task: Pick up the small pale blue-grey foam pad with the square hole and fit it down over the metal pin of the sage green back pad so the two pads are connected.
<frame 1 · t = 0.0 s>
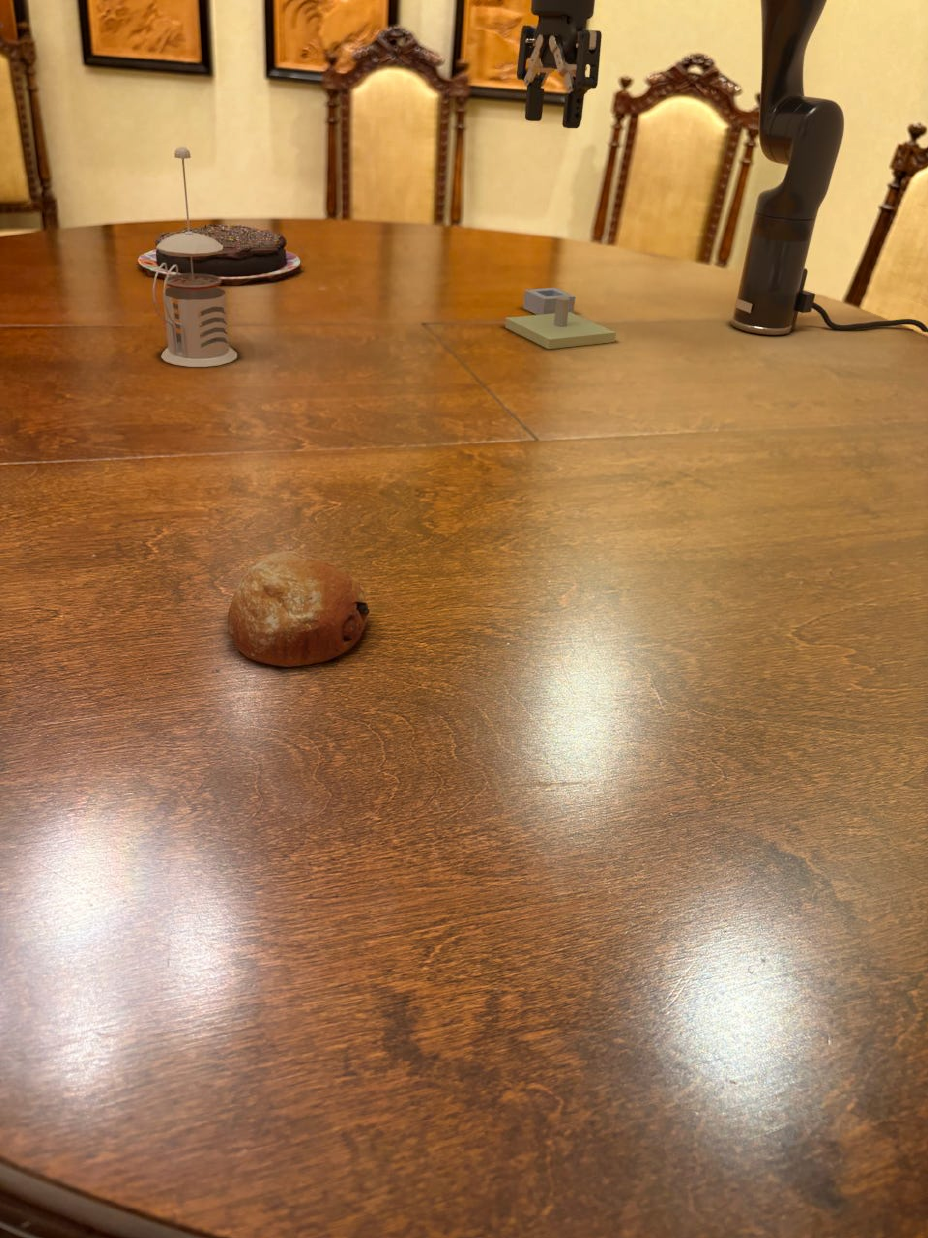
hand: (551, 123, 122), 29 cm above the table, tool pointing down, fingers open, 8 cm apart
french press: (195, 358, 128), on the table
chocolate cake: (221, 268, 172), on the table
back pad: (559, 334, 147), on the table
bread roll: (300, 634, 73), on the table
top pad: (548, 311, 159), on the table
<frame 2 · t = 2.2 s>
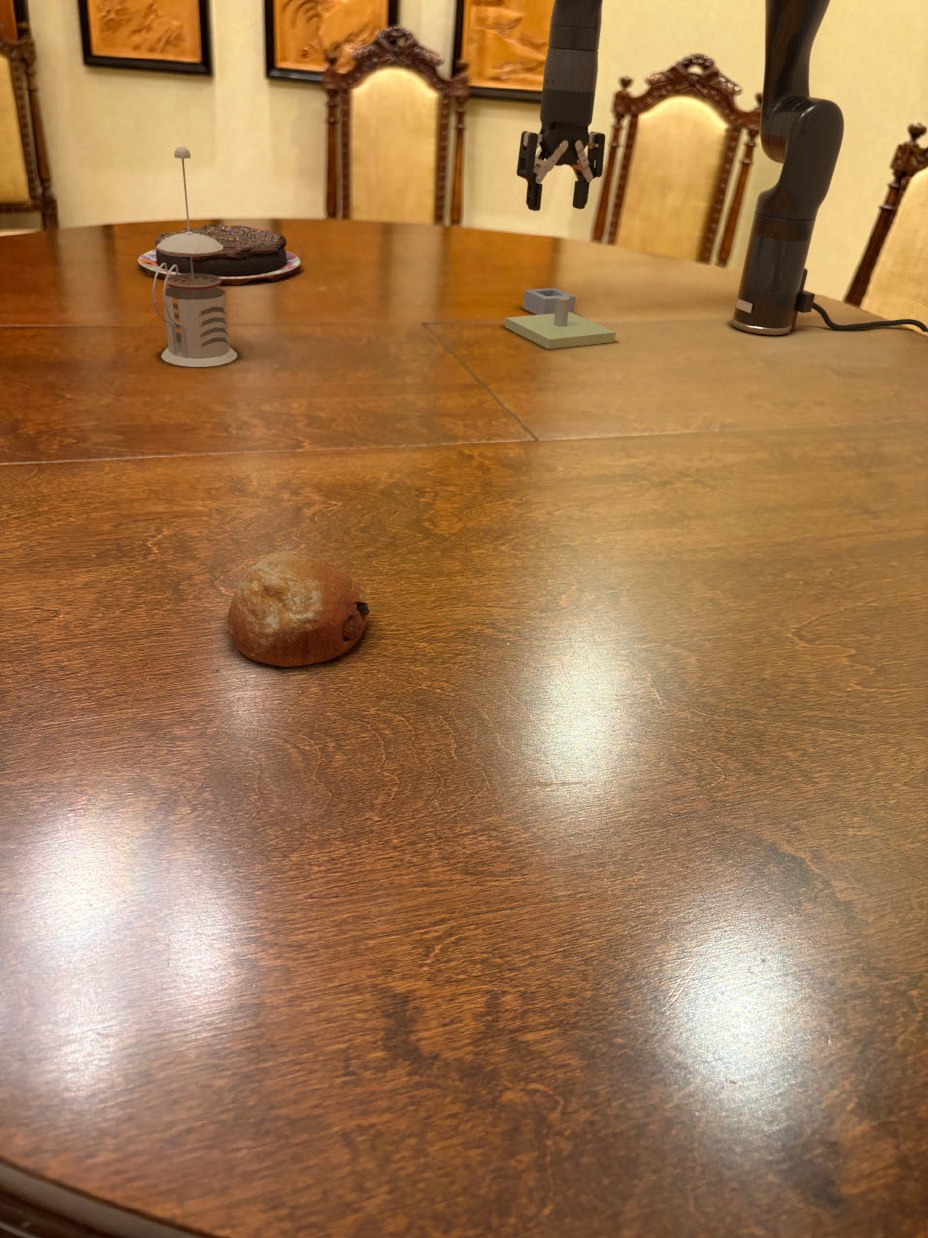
hand: (556, 209, 145), 16 cm above the table, tool pointing down, fingers open, 8 cm apart
nothing on the table moved.
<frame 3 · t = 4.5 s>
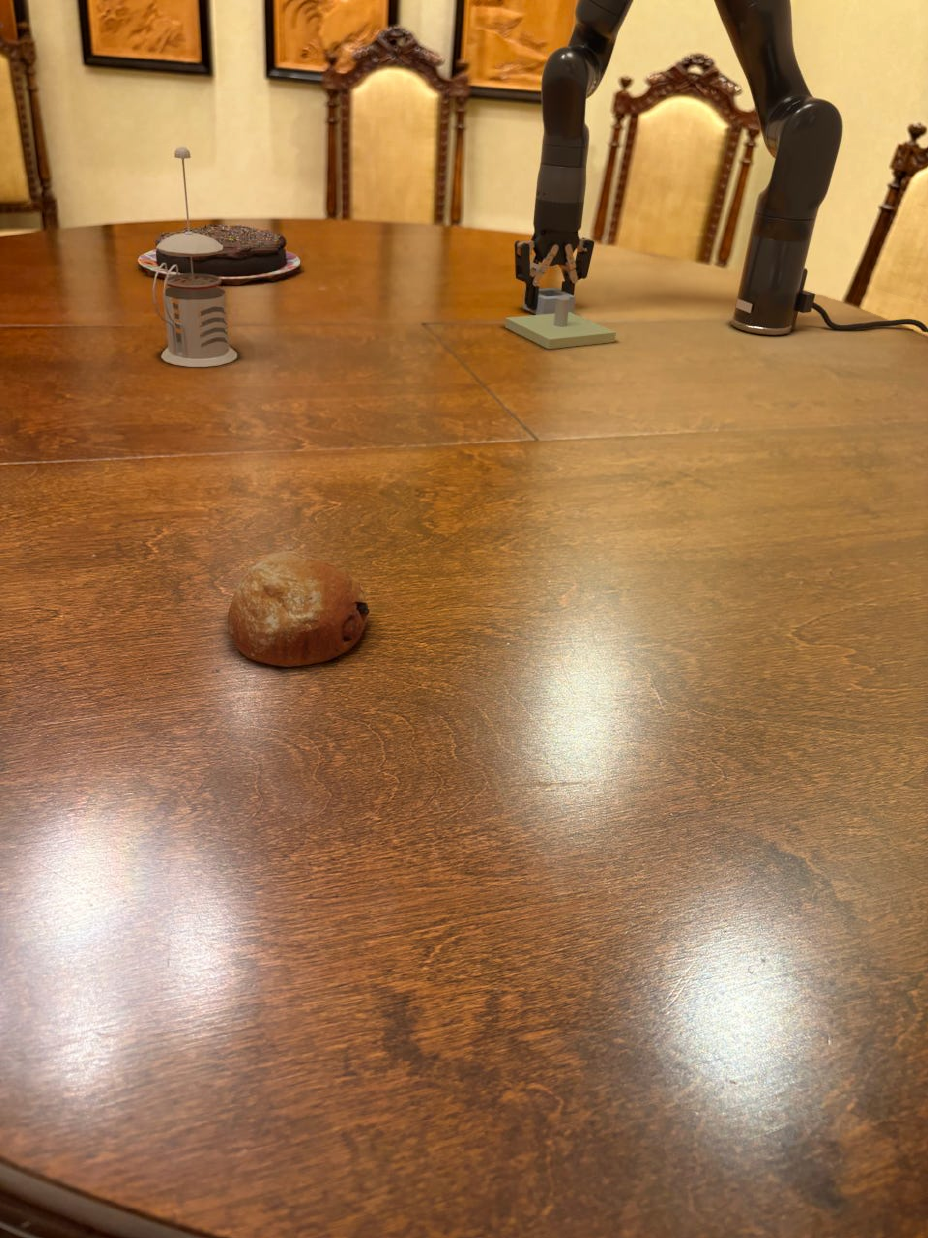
hand: (548, 306, 158), 1 cm above the table, tool pointing down, fingers closed on top pad, 6 cm apart
top pad: (547, 311, 159), on the table, touching gripper
everything else where it was.
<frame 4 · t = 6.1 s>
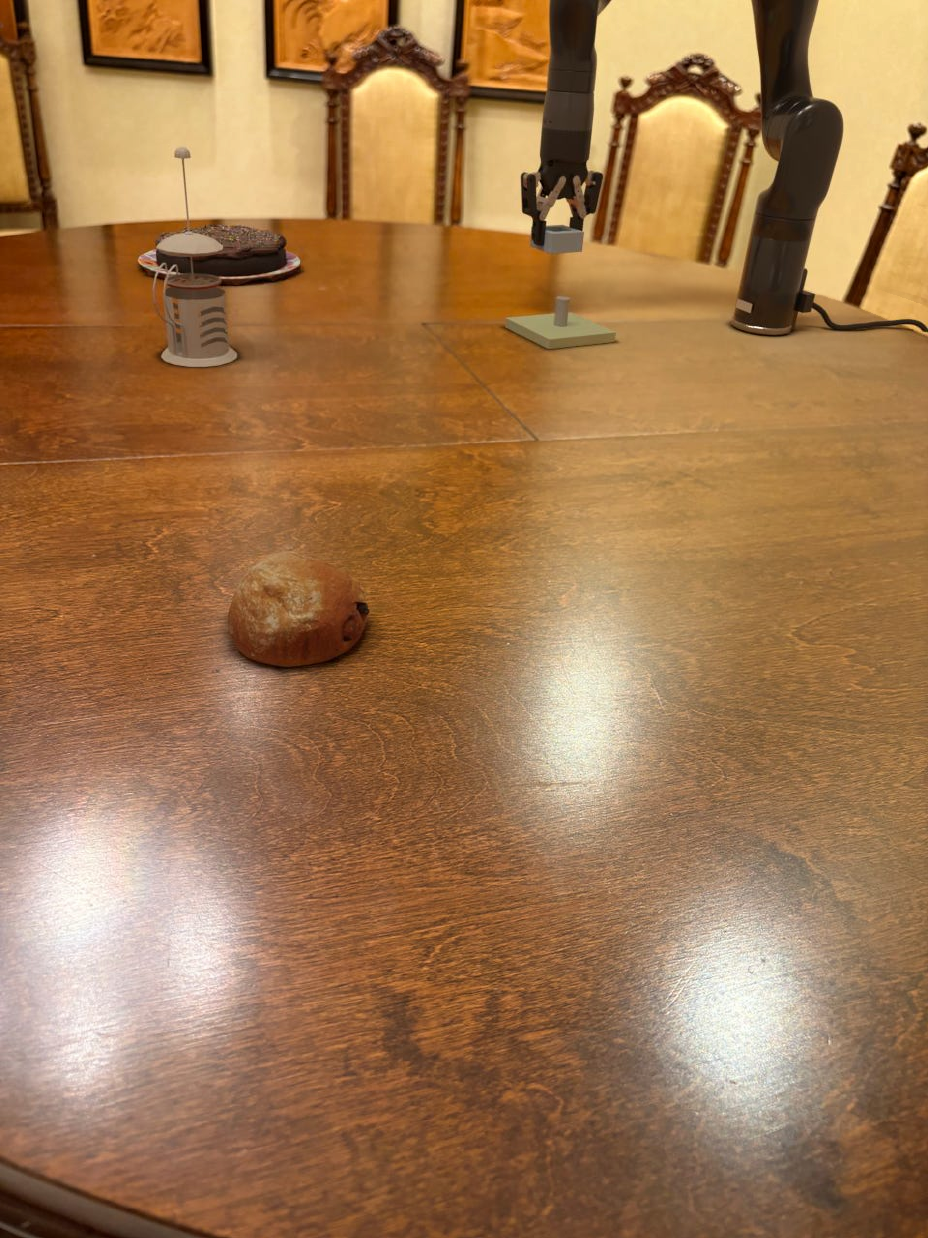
hand: (556, 243, 153), 11 cm above the table, tool pointing down, fingers closed on top pad, 6 cm apart
top pad: (555, 248, 154), point 10 cm above the table, touching gripper
everything else where it was.
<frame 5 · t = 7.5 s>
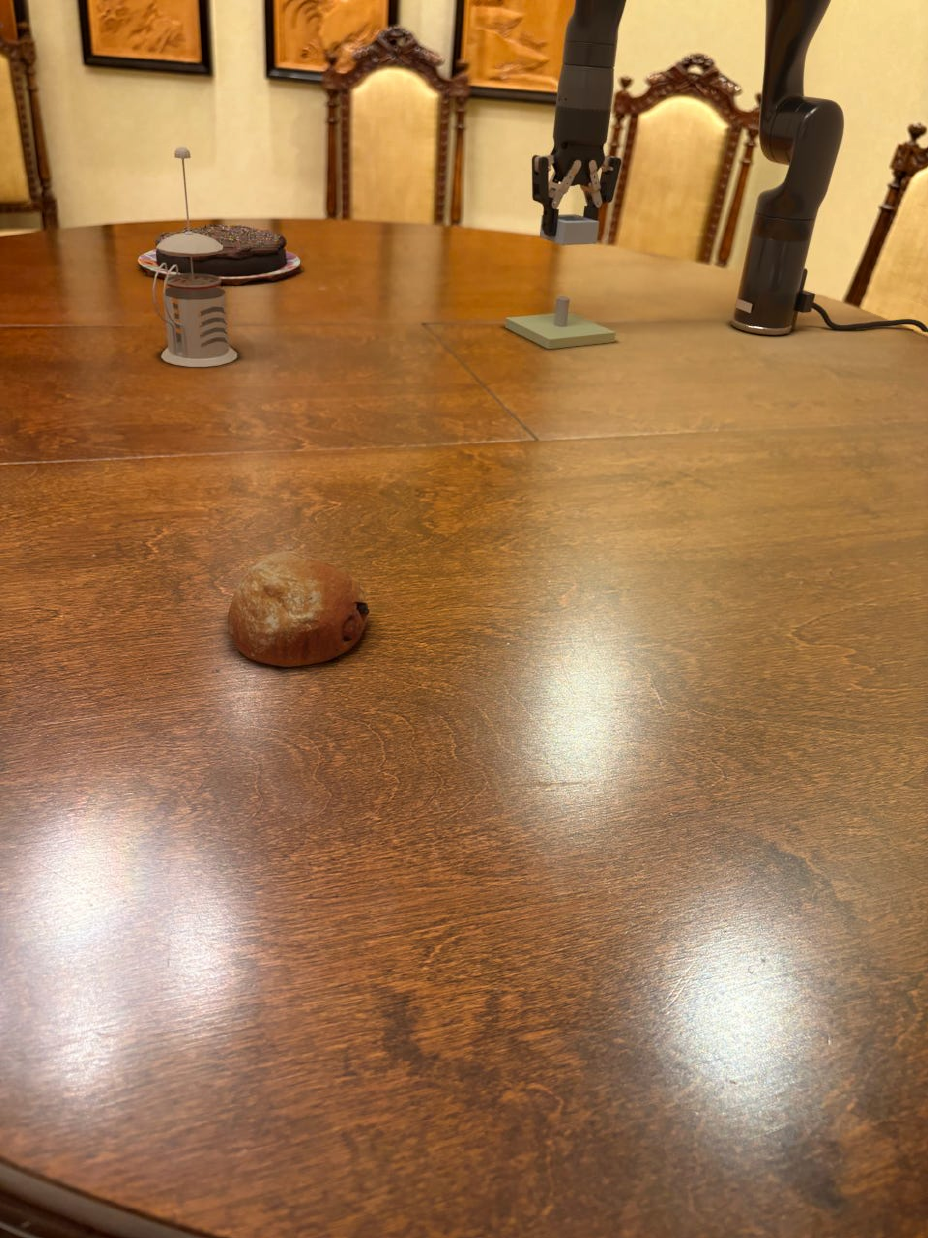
hand: (568, 234, 140), 14 cm above the table, tool pointing down, fingers closed on top pad, 6 cm apart
top pad: (567, 240, 141), point 13 cm above the table, touching gripper
everything else where it was.
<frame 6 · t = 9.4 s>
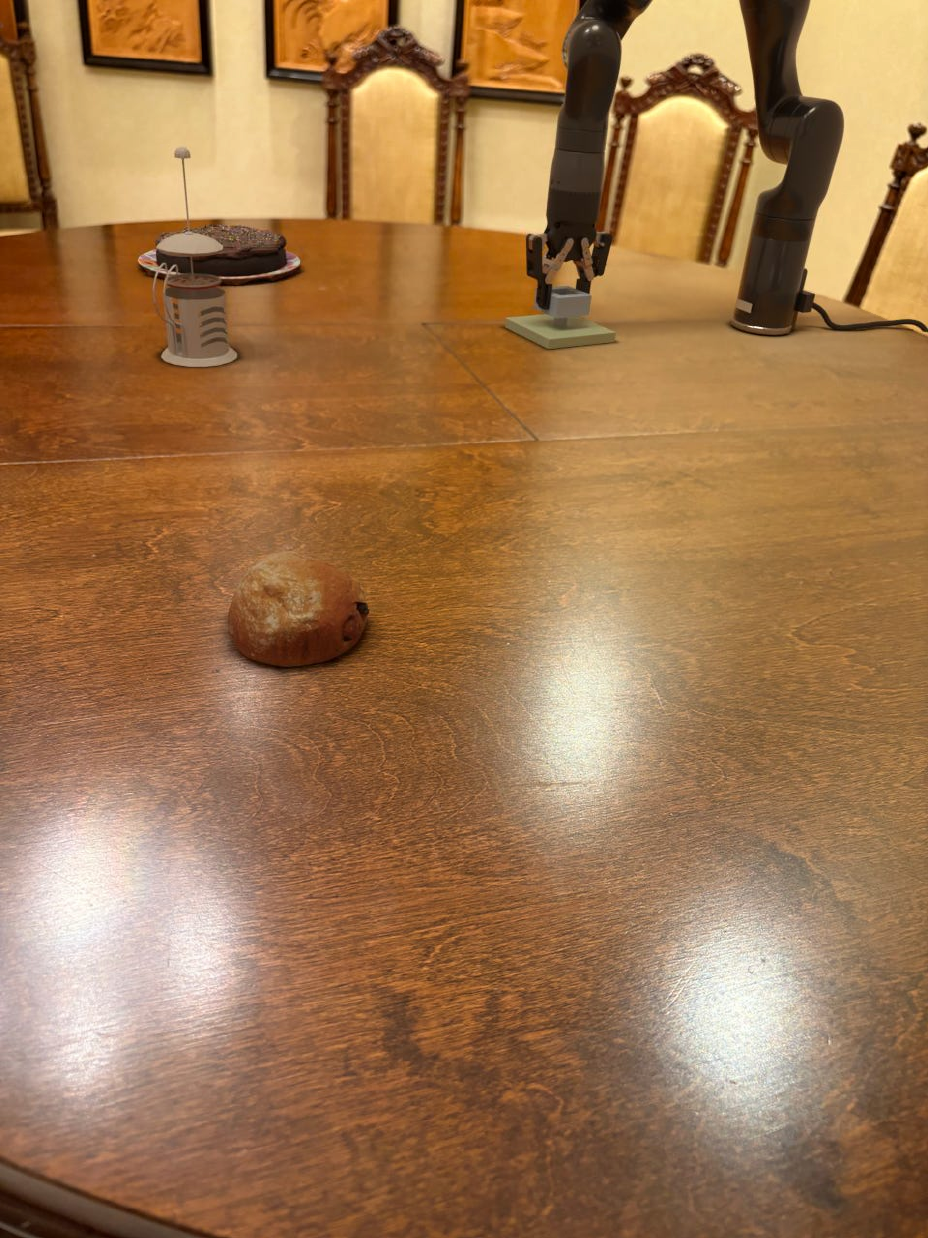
hand: (562, 306, 145), 4 cm above the table, tool pointing down, fingers closed on top pad, 6 cm apart
top pad: (561, 311, 145), point 3 cm above the table, touching gripper
everything else where it was.
when the fingers open (2 cm above the table, at t = 10.5 s): top pad stays where it is, resting on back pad.
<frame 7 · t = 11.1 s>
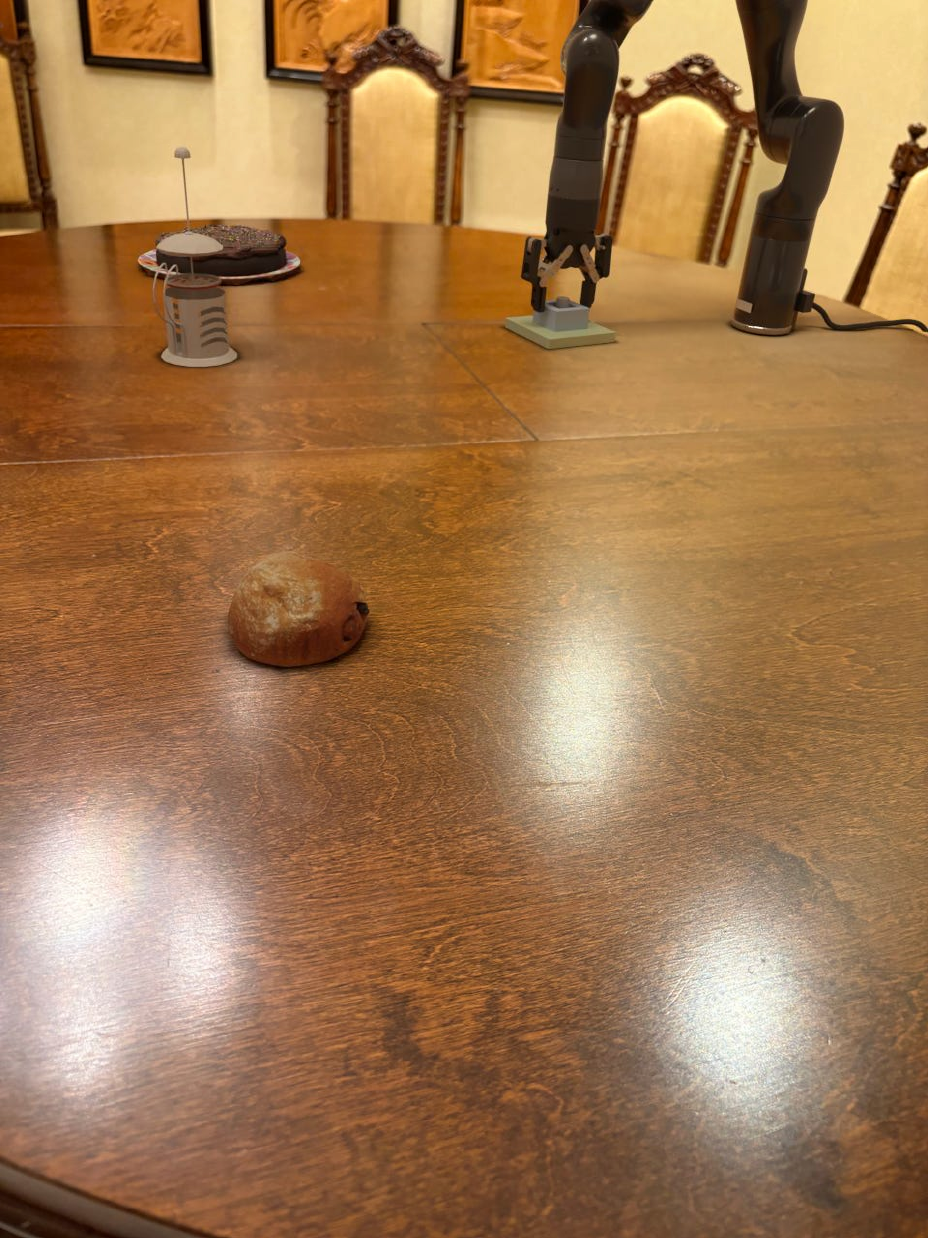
hand: (562, 309, 145), 4 cm above the table, tool pointing down, fingers open, 8 cm apart
top pad: (559, 324, 146), point 1 cm above the table, touching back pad
everything else where it was.
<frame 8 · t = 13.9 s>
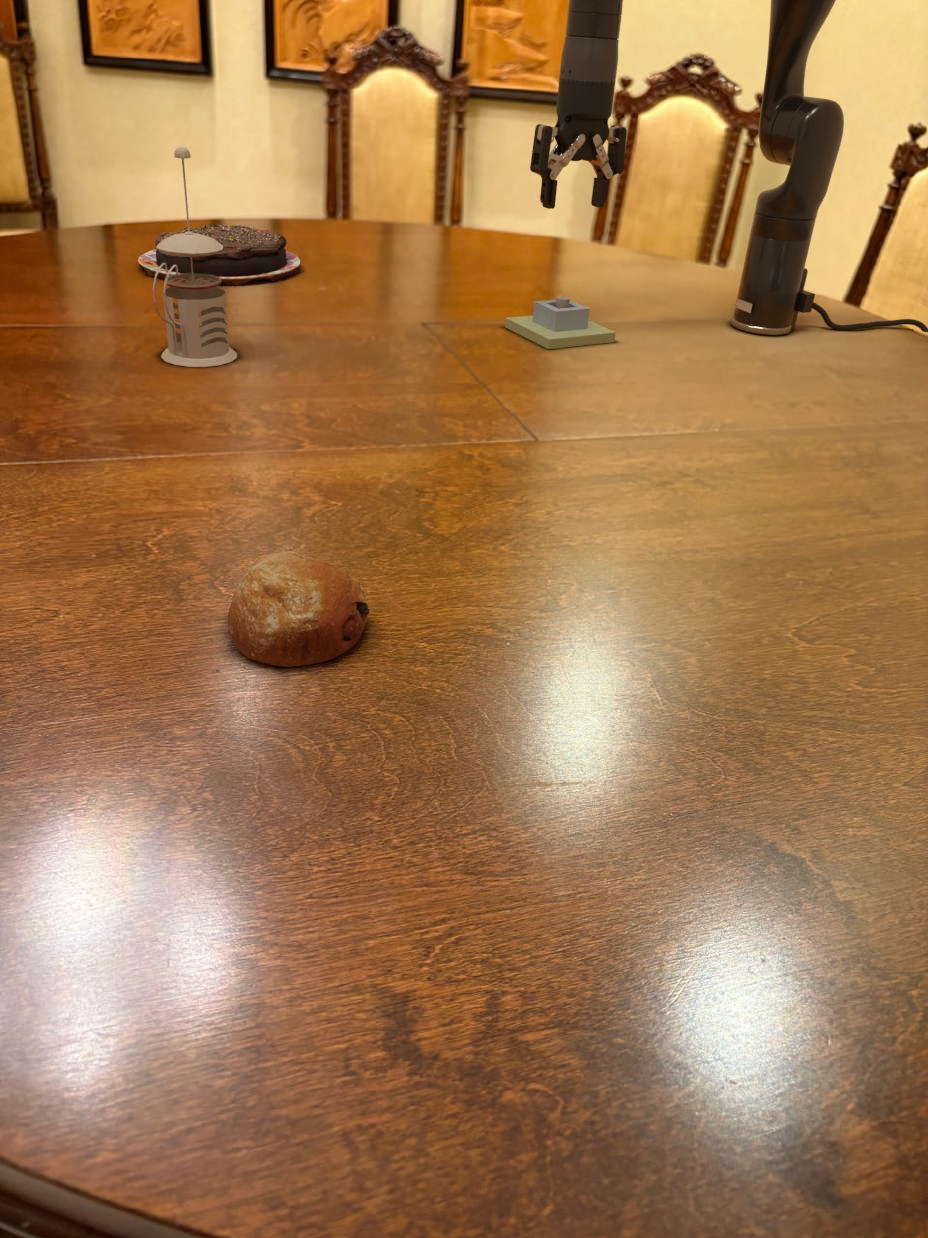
hand: (573, 207, 138), 18 cm above the table, tool pointing down, fingers open, 8 cm apart
nothing on the table moved.
at the end: top pad 0.1 cm off-centre on the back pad, point 1.5 cm above the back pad's base; top pad tilted 0°; the gripper is holding nothing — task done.
